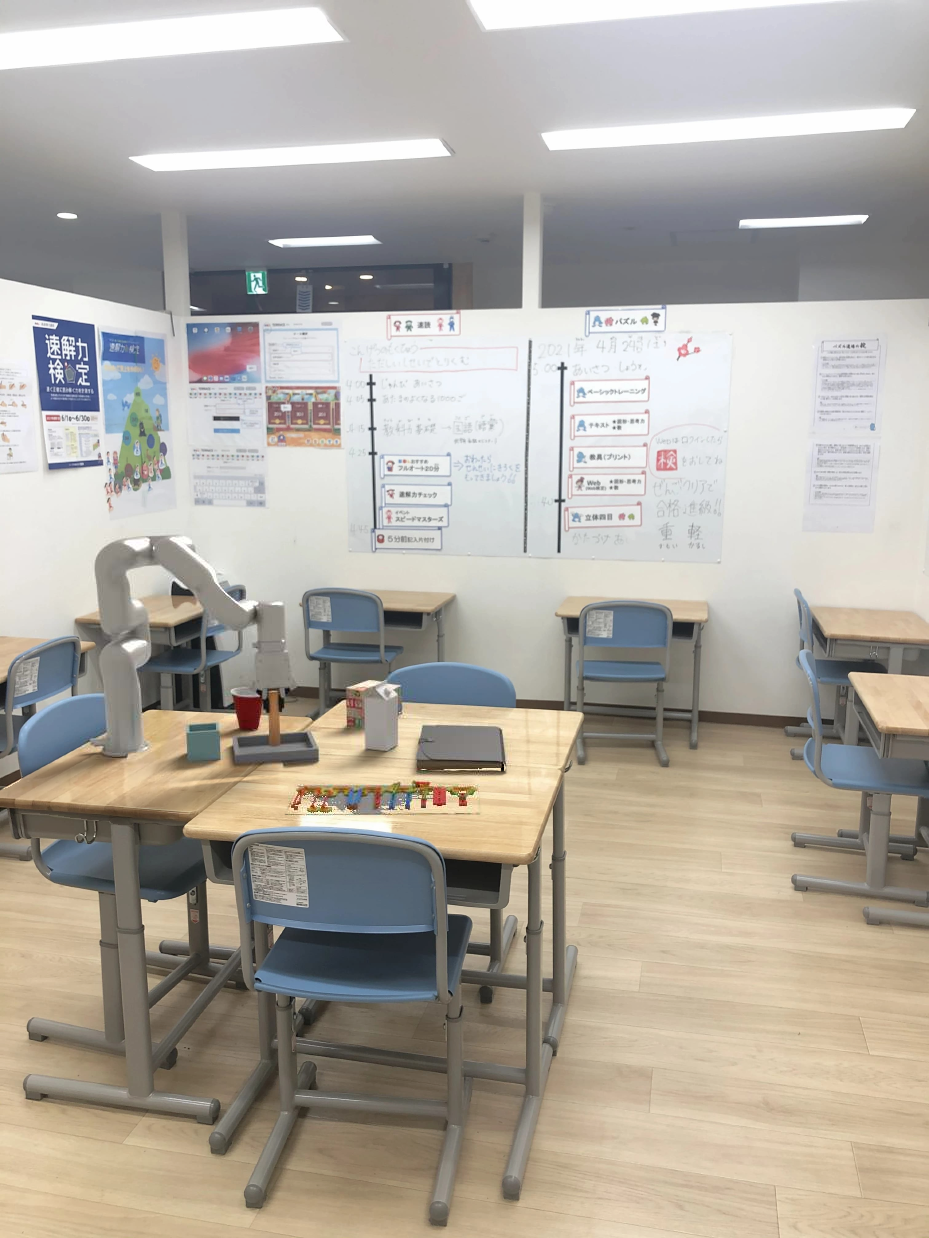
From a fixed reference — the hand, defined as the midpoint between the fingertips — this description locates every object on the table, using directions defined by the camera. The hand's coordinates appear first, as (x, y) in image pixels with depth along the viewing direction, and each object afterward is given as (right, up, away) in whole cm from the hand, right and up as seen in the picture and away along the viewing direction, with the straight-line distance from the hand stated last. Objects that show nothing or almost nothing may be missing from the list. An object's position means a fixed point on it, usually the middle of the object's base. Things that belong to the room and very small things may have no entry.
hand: (273, 711), depth 254 cm
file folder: (+52, -13, +5) cm, 54 cm away
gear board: (+34, -19, -32) cm, 50 cm away
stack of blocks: (+24, -7, +39) cm, 47 cm away
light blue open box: (-19, -13, -2) cm, 23 cm away
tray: (0, -12, +2) cm, 12 cm away
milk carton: (+29, -12, +10) cm, 33 cm away
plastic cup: (-13, -8, +28) cm, 32 cm away
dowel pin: (0, -10, +2) cm, 10 cm away
